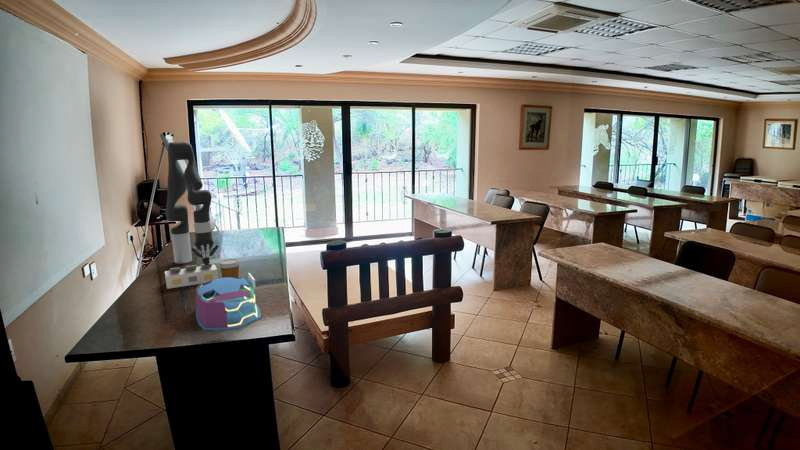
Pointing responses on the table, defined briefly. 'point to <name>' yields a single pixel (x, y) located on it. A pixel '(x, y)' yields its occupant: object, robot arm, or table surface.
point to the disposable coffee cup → (229, 268)
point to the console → (190, 276)
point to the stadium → (226, 304)
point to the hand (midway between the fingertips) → (206, 264)
